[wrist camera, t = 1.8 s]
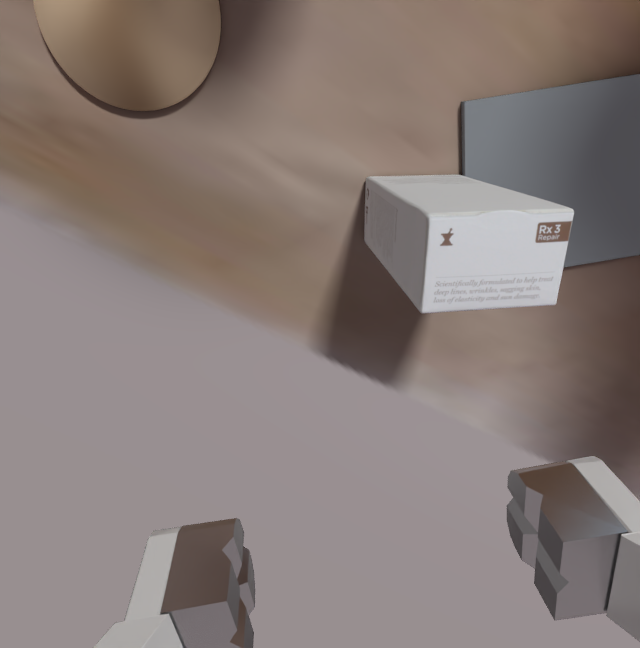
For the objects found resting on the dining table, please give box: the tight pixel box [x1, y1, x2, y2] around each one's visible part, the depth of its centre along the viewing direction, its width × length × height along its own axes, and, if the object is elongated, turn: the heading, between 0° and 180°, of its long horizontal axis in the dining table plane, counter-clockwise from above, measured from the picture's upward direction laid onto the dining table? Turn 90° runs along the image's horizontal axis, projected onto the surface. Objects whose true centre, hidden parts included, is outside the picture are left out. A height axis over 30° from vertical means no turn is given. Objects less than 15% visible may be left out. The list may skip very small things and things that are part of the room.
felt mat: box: [461, 74, 640, 267], centre depth 30 cm, size 13×11×1 cm
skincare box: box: [364, 175, 574, 313], centre depth 24 cm, size 6×4×12 cm
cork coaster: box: [33, 0, 221, 111], centre depth 24 cm, size 9×9×1 cm
